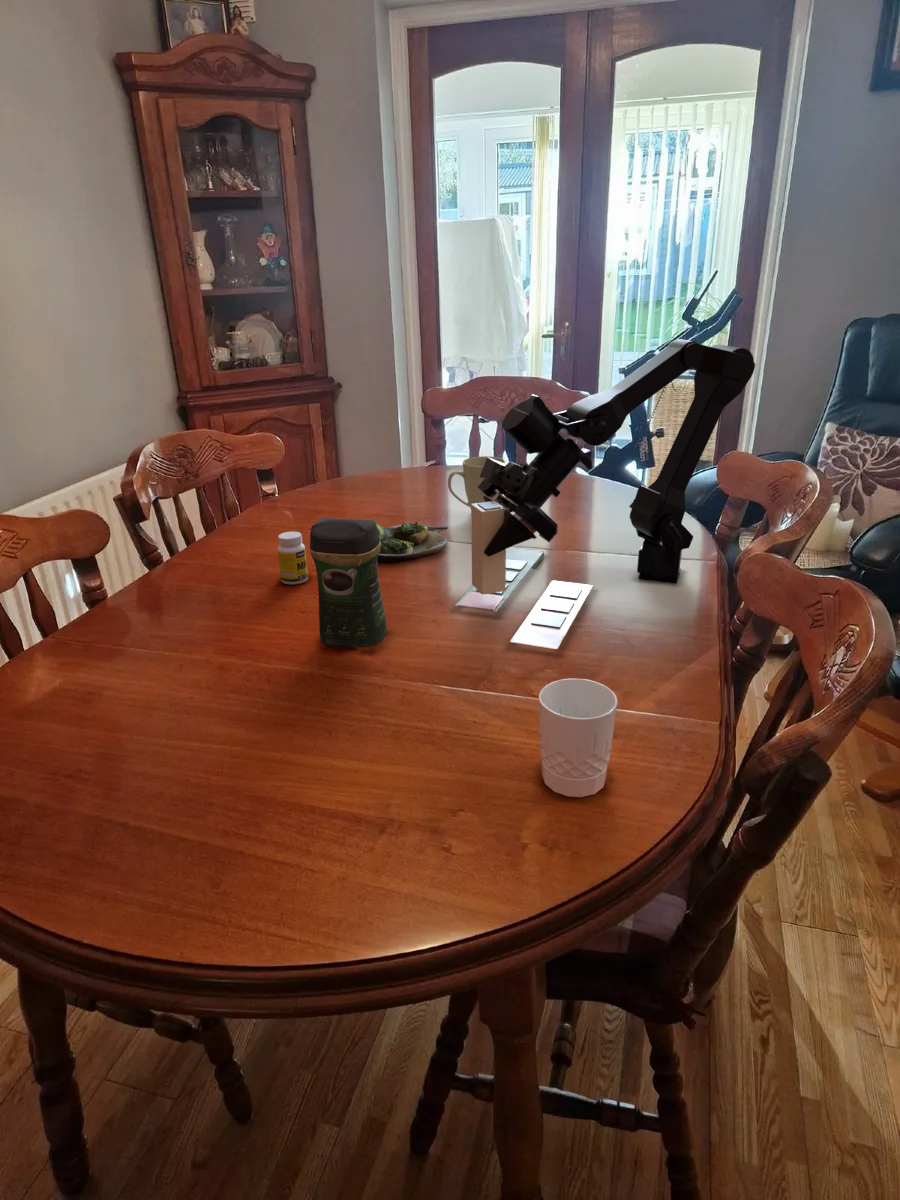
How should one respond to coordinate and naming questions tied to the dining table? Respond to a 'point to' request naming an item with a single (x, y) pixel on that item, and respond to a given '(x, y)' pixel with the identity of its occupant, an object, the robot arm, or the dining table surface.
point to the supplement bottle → (292, 558)
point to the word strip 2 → (552, 615)
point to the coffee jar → (348, 582)
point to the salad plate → (409, 541)
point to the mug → (472, 479)
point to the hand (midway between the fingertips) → (480, 549)
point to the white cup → (576, 735)
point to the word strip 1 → (515, 571)
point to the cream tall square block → (483, 529)
